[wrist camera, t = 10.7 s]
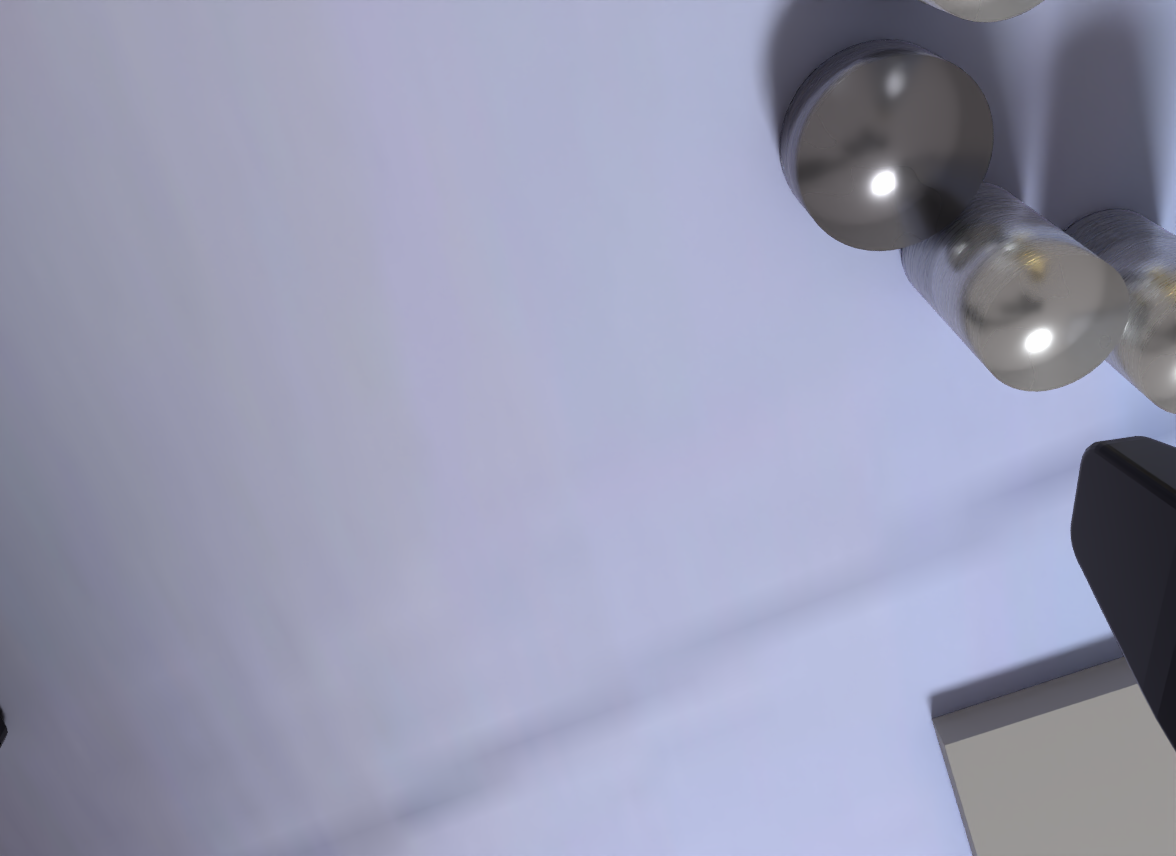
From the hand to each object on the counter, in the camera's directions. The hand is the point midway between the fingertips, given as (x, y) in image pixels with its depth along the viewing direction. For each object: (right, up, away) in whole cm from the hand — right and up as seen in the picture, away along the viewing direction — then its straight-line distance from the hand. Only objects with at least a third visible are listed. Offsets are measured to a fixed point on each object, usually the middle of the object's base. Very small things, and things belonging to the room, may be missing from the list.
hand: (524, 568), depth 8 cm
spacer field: (+8, +8, +11) cm, 16 cm away
